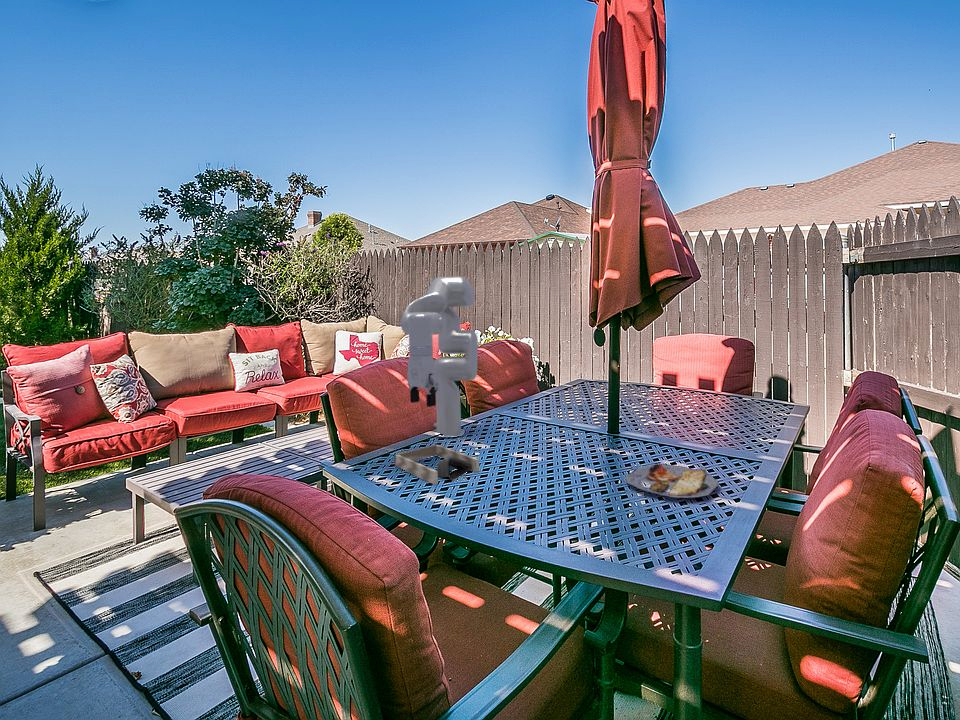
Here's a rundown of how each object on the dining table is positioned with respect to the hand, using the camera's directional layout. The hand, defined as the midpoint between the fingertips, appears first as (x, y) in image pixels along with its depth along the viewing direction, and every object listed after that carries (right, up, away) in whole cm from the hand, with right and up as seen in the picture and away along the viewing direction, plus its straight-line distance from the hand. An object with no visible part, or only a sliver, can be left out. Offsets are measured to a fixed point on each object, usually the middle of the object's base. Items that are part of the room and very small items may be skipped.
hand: (423, 404), depth 167 cm
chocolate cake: (+10, -22, -8) cm, 25 cm away
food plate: (+74, -22, -21) cm, 80 cm away
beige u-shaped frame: (+5, -21, -3) cm, 21 cm away
